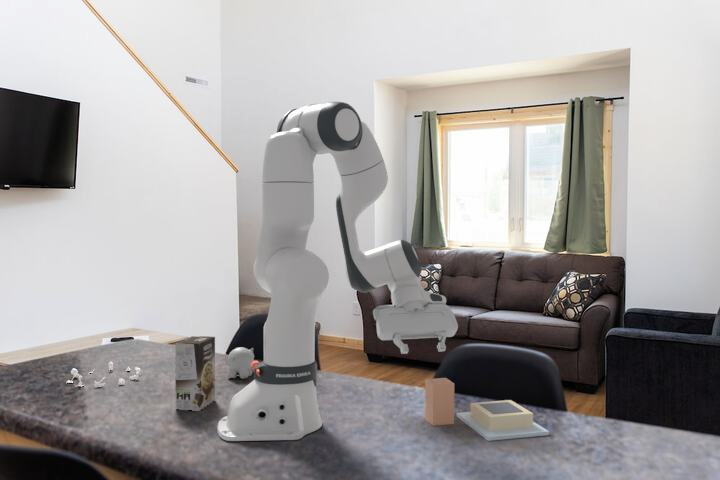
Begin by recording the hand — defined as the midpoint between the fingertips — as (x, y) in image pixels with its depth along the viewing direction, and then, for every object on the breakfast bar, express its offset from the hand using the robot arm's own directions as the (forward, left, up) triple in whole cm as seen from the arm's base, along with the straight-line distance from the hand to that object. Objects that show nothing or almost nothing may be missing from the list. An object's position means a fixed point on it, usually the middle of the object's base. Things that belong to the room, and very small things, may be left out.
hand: (423, 351), depth 148 cm
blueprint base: (+12, -16, -13) cm, 24 cm away
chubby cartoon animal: (-40, +41, -14) cm, 59 cm away
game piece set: (-78, +46, -14) cm, 92 cm away
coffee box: (-53, +15, -14) cm, 57 cm away
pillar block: (0, -10, -14) cm, 17 cm away
